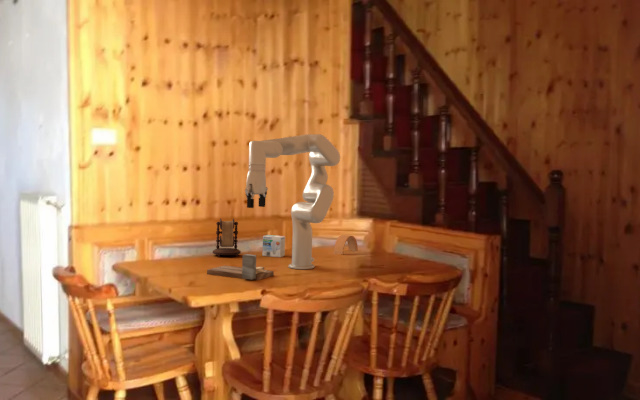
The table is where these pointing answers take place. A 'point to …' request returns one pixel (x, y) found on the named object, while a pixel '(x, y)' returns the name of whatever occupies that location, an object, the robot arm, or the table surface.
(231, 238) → the brown wooden chair
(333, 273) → the table surface
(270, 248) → the light bulb box
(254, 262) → the marking gauge
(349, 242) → the arch
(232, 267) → the walnut board
